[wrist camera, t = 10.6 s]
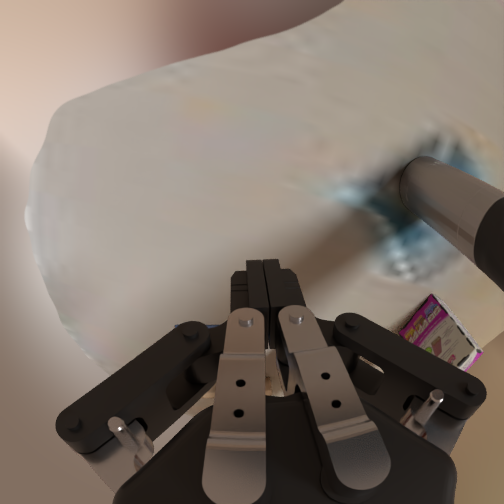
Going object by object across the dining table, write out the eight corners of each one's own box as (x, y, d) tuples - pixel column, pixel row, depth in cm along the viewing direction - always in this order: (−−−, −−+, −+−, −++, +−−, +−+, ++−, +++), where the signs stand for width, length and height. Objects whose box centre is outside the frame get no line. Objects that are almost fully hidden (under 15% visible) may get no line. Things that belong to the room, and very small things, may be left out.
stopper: (269, 377, 57) (271, 390, 54) (269, 382, 58) (271, 395, 55) (173, 378, 56) (171, 391, 52) (174, 383, 57) (173, 397, 53)
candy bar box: (410, 337, 55) (443, 394, 41) (397, 332, 54) (430, 393, 40) (443, 298, 51) (485, 352, 36) (431, 292, 49) (475, 349, 35)
